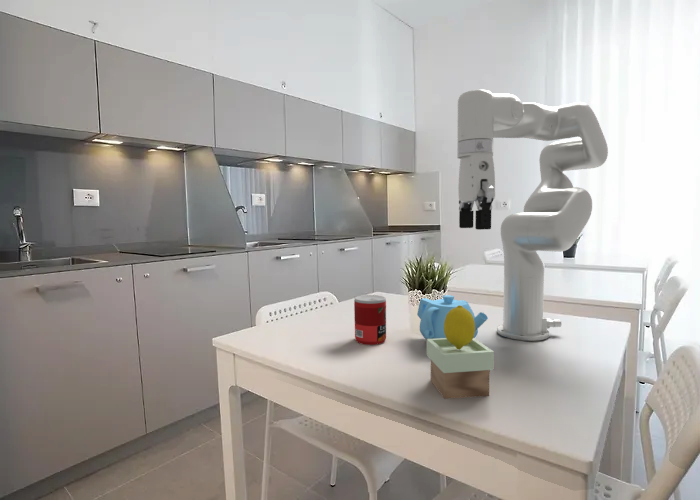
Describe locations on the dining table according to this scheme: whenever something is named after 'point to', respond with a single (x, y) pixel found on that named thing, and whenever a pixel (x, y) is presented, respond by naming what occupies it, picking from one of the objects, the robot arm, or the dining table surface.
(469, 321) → the lemon
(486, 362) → the sage top block
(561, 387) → the dining table surface
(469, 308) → the teapot
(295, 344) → the dining table surface
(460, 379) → the walnut block
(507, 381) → the dining table surface
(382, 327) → the canned food
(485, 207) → the robot arm
